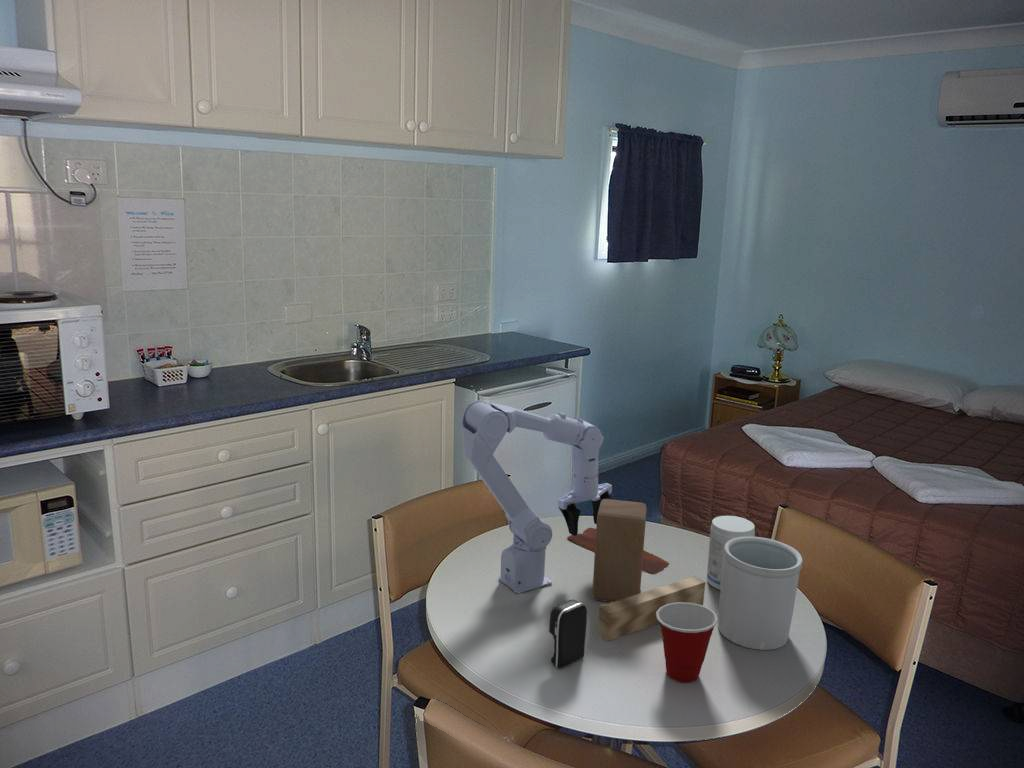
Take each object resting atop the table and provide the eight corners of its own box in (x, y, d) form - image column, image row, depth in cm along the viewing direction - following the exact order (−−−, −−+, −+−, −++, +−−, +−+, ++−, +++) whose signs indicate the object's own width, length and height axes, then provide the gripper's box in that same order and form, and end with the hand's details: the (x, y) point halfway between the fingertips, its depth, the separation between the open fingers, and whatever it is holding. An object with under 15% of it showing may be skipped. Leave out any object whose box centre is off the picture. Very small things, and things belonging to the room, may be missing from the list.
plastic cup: (669, 649, 151) (674, 592, 149) (721, 672, 145) (728, 613, 142) (640, 673, 143) (644, 614, 141) (693, 699, 137) (700, 637, 134)
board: (607, 641, 154) (609, 613, 152) (597, 633, 156) (599, 606, 155) (702, 607, 167) (705, 581, 166) (692, 601, 170) (695, 576, 168)
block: (638, 607, 167) (645, 519, 162) (591, 601, 169) (596, 514, 164) (640, 585, 176) (647, 501, 172) (596, 579, 178) (601, 496, 173)
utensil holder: (799, 626, 161) (809, 547, 157) (783, 661, 149) (794, 576, 145) (727, 606, 169) (735, 530, 164) (706, 637, 156) (714, 556, 152)
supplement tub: (750, 578, 181) (757, 519, 178) (748, 597, 172) (755, 535, 169) (707, 570, 184) (713, 512, 181) (703, 589, 176) (709, 527, 172)
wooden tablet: (564, 541, 199) (564, 535, 198) (589, 530, 206) (590, 524, 205) (650, 579, 180) (651, 572, 180) (675, 566, 187) (676, 559, 187)
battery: (571, 648, 151) (574, 594, 148) (585, 657, 148) (588, 602, 145) (544, 661, 146) (547, 605, 143) (558, 671, 143) (561, 614, 141)
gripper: (572, 487, 170) (572, 544, 173) (621, 471, 178) (621, 526, 182) (551, 478, 175) (552, 533, 179) (600, 462, 183) (600, 516, 187)
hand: (585, 529), depth 181 cm, fingers open, 7 cm apart
